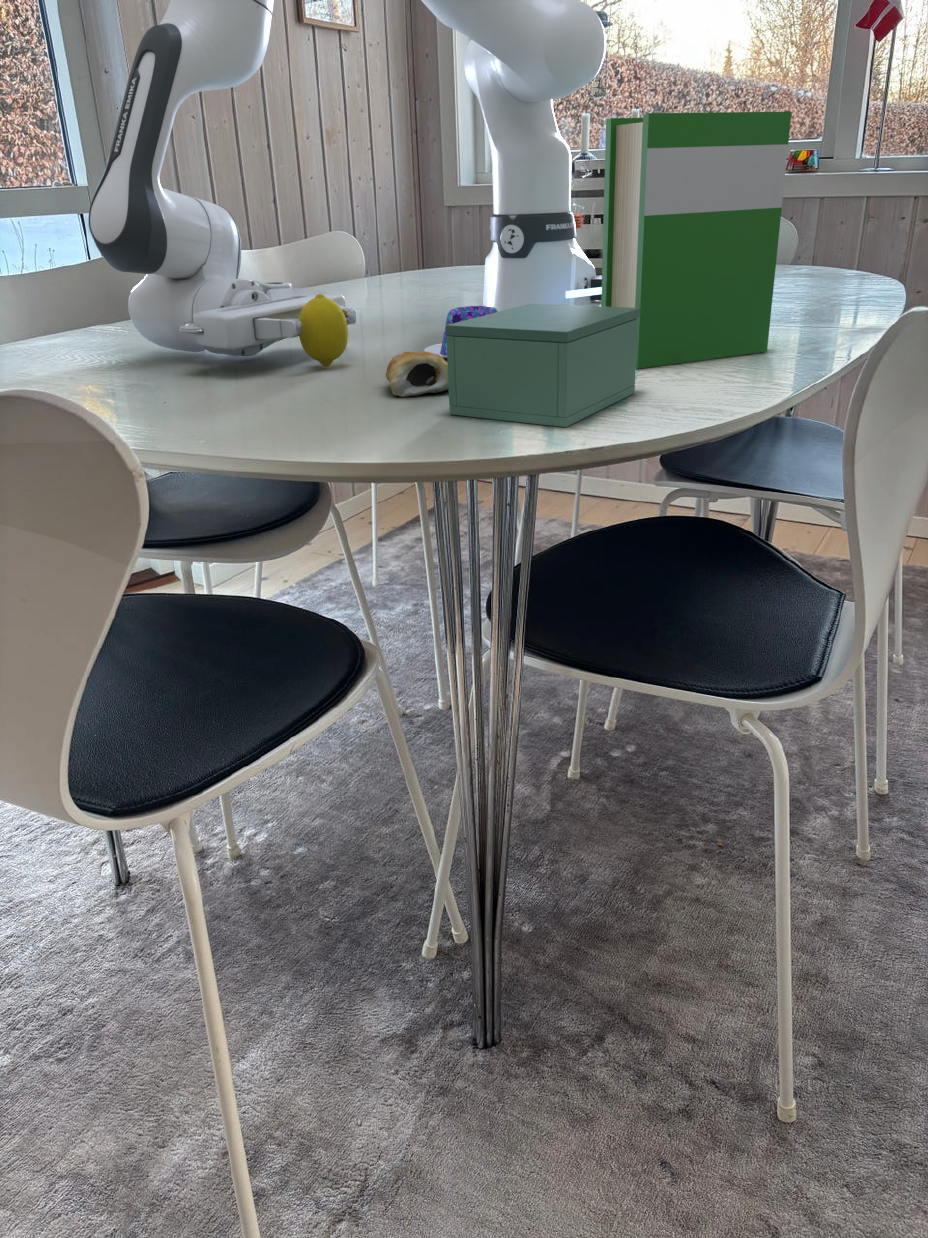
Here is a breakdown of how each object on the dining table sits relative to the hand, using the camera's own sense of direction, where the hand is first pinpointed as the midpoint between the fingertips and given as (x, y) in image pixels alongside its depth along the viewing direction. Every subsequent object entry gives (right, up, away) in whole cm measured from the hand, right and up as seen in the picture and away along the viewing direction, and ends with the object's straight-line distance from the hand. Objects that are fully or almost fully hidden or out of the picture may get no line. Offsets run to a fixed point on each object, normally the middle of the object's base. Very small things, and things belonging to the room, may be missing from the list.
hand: (326, 322), depth 104 cm
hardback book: (+41, -4, +1) cm, 41 cm away
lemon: (0, -5, +2) cm, 5 cm away
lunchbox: (+23, -14, -19) cm, 33 cm away
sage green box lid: (+23, -7, -22) cm, 32 cm away
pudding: (+17, -2, +6) cm, 18 cm away
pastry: (+11, -10, -11) cm, 18 cm away
